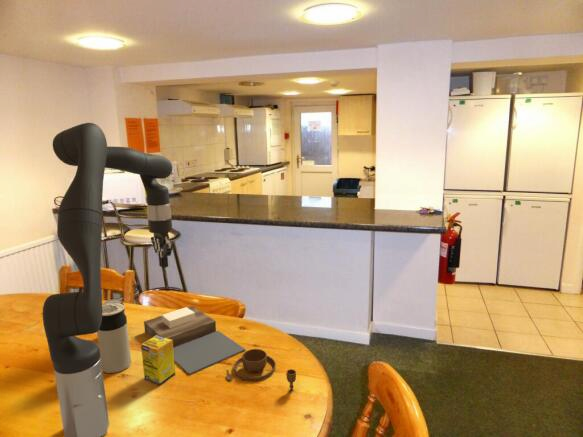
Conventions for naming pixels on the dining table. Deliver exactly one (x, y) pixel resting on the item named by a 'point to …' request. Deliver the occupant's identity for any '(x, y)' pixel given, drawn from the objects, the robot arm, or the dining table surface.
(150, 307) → the dining table surface
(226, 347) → the rubber mat
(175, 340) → the walnut board
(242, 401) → the dining table surface
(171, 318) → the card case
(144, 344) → the supplement box
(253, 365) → the place setting
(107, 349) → the travel mug
